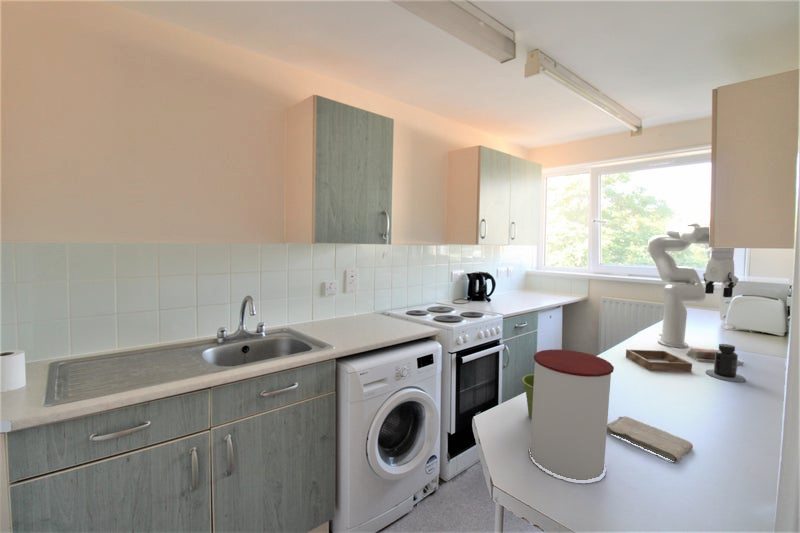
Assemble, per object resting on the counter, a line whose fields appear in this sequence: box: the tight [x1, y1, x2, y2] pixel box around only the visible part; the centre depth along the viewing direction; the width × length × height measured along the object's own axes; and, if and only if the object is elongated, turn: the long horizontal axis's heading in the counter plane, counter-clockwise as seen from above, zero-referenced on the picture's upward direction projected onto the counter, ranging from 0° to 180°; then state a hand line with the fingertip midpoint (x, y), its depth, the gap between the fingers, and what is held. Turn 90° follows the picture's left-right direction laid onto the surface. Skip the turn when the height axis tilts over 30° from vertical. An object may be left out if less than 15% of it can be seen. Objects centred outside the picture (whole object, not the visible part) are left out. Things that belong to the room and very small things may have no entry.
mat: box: [705, 369, 746, 383], centre depth 148 cm, size 12×12×1 cm
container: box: [529, 349, 615, 480], centre depth 89 cm, size 17×17×25 cm
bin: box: [625, 348, 693, 373], centre depth 161 cm, size 17×17×4 cm
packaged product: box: [685, 347, 745, 366], centre depth 168 cm, size 18×5×10 cm
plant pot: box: [521, 373, 534, 419], centre depth 110 cm, size 12×12×11 cm
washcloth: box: [607, 416, 694, 464], centre depth 100 cm, size 12×18×3 cm, turn 36°
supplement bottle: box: [713, 343, 739, 377], centre depth 148 cm, size 7×7×12 cm
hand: (718, 295), depth 161 cm, fingers open, 9 cm apart
